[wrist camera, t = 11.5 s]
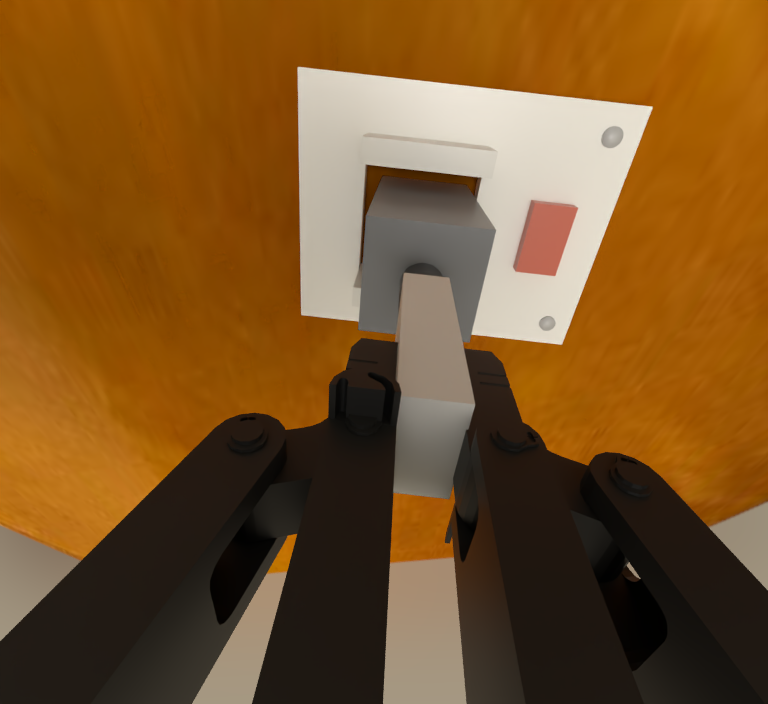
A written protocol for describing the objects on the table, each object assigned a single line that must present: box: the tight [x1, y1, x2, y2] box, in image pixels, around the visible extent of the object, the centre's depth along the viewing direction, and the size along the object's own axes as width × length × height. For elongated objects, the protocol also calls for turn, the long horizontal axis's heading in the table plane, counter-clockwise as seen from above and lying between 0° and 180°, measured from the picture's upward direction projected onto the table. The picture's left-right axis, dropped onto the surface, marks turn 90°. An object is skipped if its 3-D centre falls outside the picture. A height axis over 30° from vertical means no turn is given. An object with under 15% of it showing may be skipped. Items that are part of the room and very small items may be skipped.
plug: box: [358, 176, 496, 342], centre depth 20 cm, size 5×5×12 cm
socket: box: [298, 67, 653, 345], centre depth 23 cm, size 18×14×4 cm
